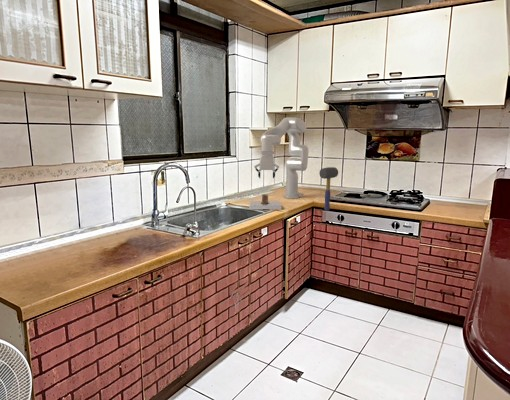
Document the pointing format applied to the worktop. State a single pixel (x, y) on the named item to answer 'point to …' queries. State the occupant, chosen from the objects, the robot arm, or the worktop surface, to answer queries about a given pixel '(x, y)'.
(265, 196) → the walnut wedge
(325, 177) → the rubber mallet
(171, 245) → the worktop surface
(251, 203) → the rosette plate
